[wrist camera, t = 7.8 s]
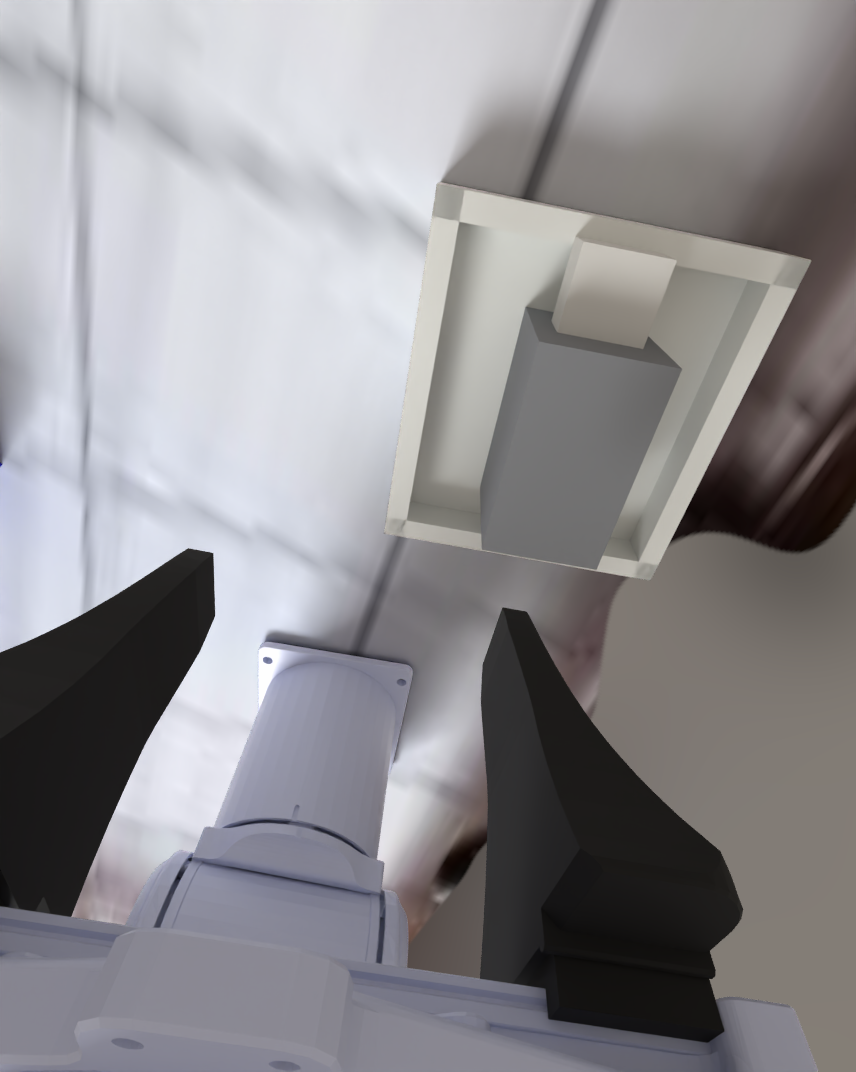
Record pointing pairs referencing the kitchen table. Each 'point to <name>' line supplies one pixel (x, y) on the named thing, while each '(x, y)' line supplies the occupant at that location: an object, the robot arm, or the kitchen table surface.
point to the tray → (535, 281)
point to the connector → (578, 408)
